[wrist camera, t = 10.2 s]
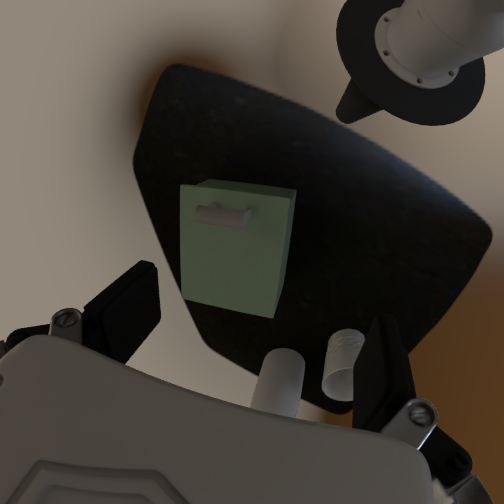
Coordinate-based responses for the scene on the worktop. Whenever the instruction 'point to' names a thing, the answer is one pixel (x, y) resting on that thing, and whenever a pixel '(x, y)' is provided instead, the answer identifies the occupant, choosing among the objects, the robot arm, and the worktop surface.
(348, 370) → the white cup
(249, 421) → the robot arm
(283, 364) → the milk bottle
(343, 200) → the worktop surface
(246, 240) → the lid
